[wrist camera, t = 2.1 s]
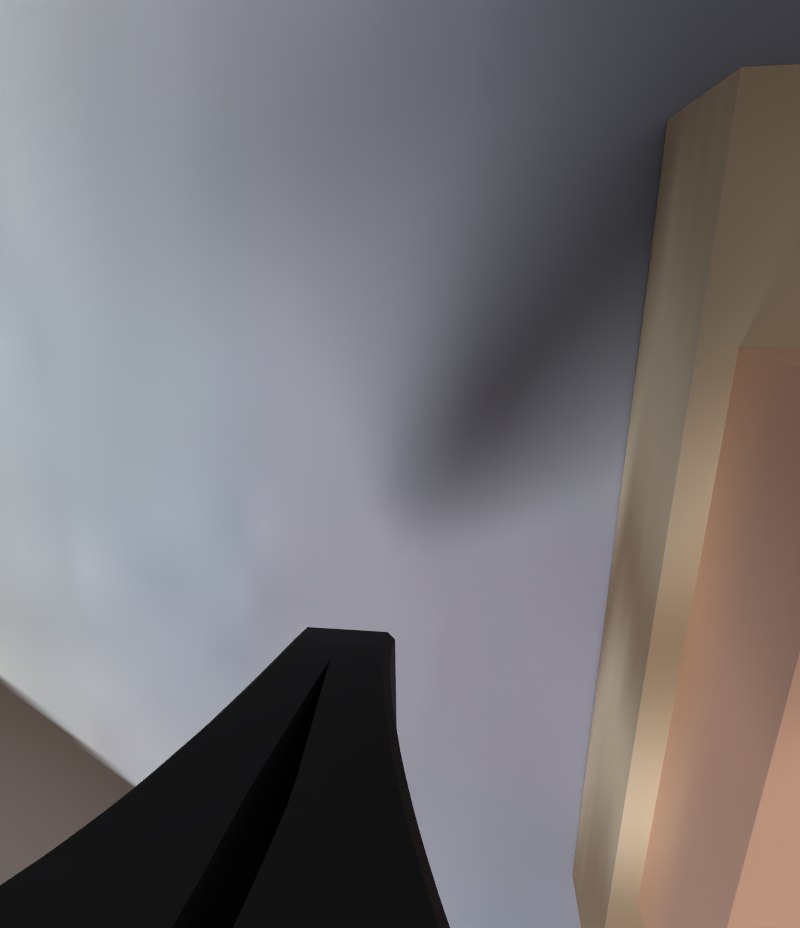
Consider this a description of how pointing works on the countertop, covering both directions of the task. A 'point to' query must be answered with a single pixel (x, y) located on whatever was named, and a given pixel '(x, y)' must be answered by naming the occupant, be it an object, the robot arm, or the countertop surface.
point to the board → (684, 439)
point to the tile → (739, 682)
